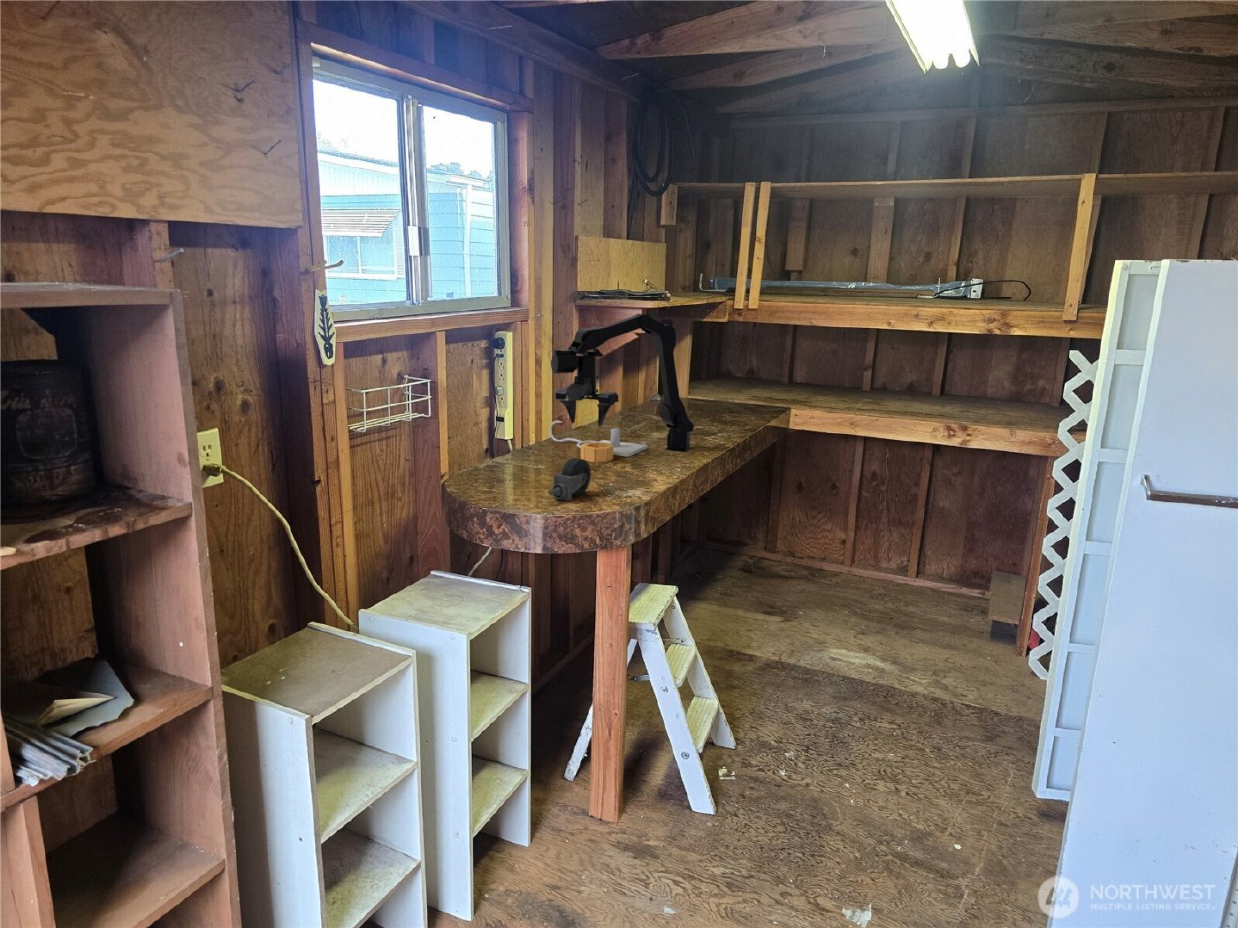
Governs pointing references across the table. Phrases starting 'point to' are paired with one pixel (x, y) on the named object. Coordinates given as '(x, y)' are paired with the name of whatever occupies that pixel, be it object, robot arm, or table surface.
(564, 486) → the caster wheel
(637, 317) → the robot arm
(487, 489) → the table surface
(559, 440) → the hook
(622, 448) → the post board
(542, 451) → the table surface
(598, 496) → the table surface
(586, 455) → the wooden bowl
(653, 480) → the table surface
